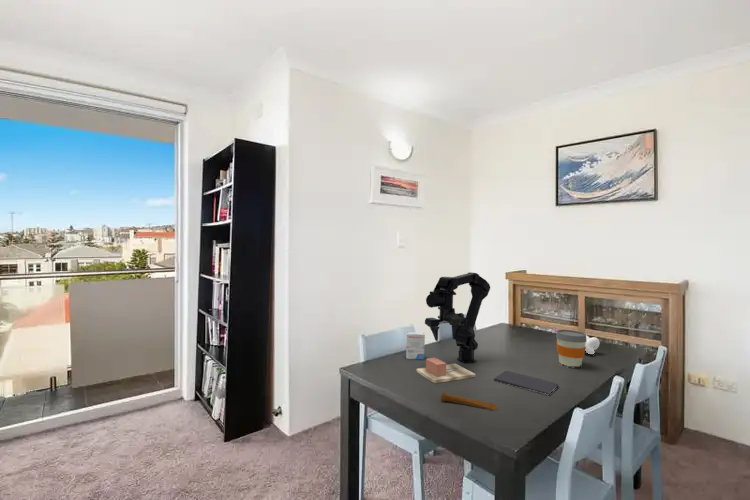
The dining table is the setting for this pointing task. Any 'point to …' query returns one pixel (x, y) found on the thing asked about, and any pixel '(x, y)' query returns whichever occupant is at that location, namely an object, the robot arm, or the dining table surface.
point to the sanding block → (436, 367)
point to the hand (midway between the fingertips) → (445, 340)
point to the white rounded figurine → (591, 344)
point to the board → (447, 374)
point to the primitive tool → (468, 401)
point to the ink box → (415, 345)
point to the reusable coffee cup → (570, 347)
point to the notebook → (526, 382)
